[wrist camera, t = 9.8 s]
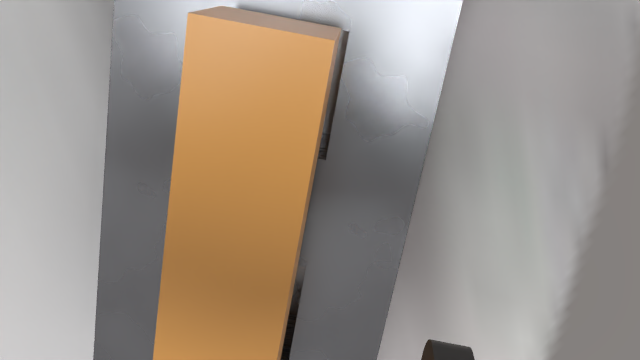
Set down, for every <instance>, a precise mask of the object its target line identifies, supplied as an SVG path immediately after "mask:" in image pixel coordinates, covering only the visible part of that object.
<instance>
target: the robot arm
mask: <svg viewBox="0 0 640 360" xmlns="http://www.w3.org/2000/svg"><path fill="white" fill-rule="evenodd" d="M421 360H474V356H473V352H472V349H471V348H470V347H466V346H461V345H456V344H451V343H445V342H440V341H435V340H428V341H427V343H426V345H425V348H424V351H423V355H422V359H421Z"/></svg>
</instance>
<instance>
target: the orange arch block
mask: <svg viewBox="0 0 640 360" xmlns="http://www.w3.org/2000/svg"><path fill="white" fill-rule="evenodd" d="M340 33H341V28H338V27H333V26H328V25H323V24H317V23H312V22H307V21H301V20H296V19H291V18H286V17H280V16H275V15H270V14H264V13H259V12H254V11H248V10H243V9H238V8H233V7H227V6H217V7H213V8H208V9H203V10H198V11H194V12H189V13H188V17H187V27H186V37H185V47H184V57H183V66H182V76H181V86H180V96H179V106H178V116H177V126H176V136H175V145H174V155H173V165H172V175H171V185H170V195H169V205H168V215H167V224H166V234H165V244H164V254H163V264H162V274H161V284H160V294H159V304H158V313H157V323H156V333H155V343H154V353H153V360H281V354H282V349H283V343H284V338H285V332H286V327H287V321H288V316H289V311H290V305H291V300H292V294H293V289H294V283H295V278H296V273H297V267H298V262H299V256H300V251H301V245H302V240H303V234H304V229H305V224H306V218H307V213H308V207H309V202H310V196H311V191H312V185H313V180H314V175H315V169H316V164H317V158H318V153H319V147H320V142H321V137H322V131H323V126H324V120H325V115H326V109H327V104H328V98H329V93H330V88H331V82H332V77H333V71H334V66H335V60H336V55H337V49H338V44H339V39H340Z"/></svg>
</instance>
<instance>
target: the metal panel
mask: <svg viewBox="0 0 640 360" xmlns="http://www.w3.org/2000/svg"><path fill="white" fill-rule="evenodd" d="M462 3H463V0H114V14H113V31H112V49H111V66H110V83H109V100H108V117H107V135H106V152H105V169H104V186H103V203H102V221H101V238H100V255H99V272H98V289H97V307H96V324H95V341H94V358H93V360H153V353H154V343H155V333H156V323H157V313H158V304H159V294H160V284H161V274H162V264H163V254H164V244H165V234H166V224H167V215H168V205H169V195H170V185H171V175H172V165H173V155H174V145H175V136H176V126H177V116H178V106H179V96H180V86H181V76H182V66H183V57H184V47H185V37H186V27H187V17H188V13H189V12H194V11H198V10H203V9H208V8H213V7H217V6H227V7H233V8H238V9H243V10H248V11H254V12H259V13H264V14H270V15H275V16H280V17H286V18H291V19H296V20H301V21H307V22H312V23H317V24H323V25H328V26H333V27H338V28H341V33H340V39H339V44H338V49H337V55H336V60H335V66H334V71H333V77H332V82H331V88H330V93H329V98H328V104H327V109H326V115H325V120H324V126H323V131H322V137H321V142H320V147H319V153H318V158H317V164H316V169H315V175H314V180H313V185H312V191H311V196H310V202H309V207H308V213H307V218H306V224H305V229H304V234H303V240H302V245H301V251H300V256H299V262H298V267H297V273H296V278H295V283H294V289H293V294H292V300H291V305H290V311H289V316H288V321H287V327H286V332H285V338H284V343H283V349H282V354H281V360H376V359H377V355H378V351H379V347H380V343H381V339H382V334H383V330H384V326H385V322H386V318H387V314H388V310H389V305H390V301H391V297H392V293H393V289H394V285H395V280H396V276H397V272H398V268H399V264H400V260H401V256H402V251H403V247H404V243H405V239H406V235H407V231H408V227H409V222H410V218H411V214H412V210H413V206H414V202H415V198H416V193H417V189H418V185H419V181H420V177H421V173H422V168H423V164H424V160H425V156H426V152H427V148H428V144H429V139H430V135H431V131H432V127H433V123H434V119H435V115H436V110H437V106H438V102H439V98H440V94H441V90H442V86H443V81H444V77H445V73H446V69H447V65H448V61H449V56H450V52H451V48H452V44H453V40H454V36H455V32H456V27H457V23H458V19H459V15H460V11H461V7H462Z"/></svg>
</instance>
